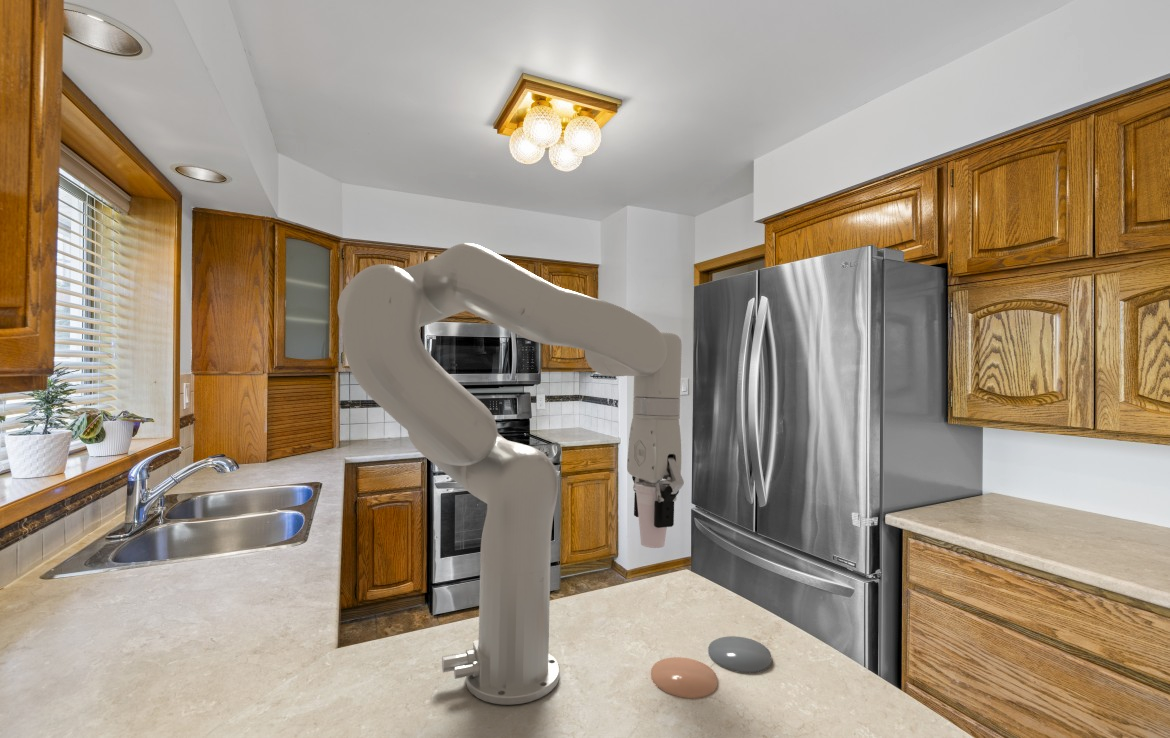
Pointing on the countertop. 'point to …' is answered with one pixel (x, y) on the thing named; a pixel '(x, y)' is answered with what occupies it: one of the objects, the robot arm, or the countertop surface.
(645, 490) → the smoothie
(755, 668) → the grey pebble
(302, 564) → the countertop surface
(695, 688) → the orange brown disc
